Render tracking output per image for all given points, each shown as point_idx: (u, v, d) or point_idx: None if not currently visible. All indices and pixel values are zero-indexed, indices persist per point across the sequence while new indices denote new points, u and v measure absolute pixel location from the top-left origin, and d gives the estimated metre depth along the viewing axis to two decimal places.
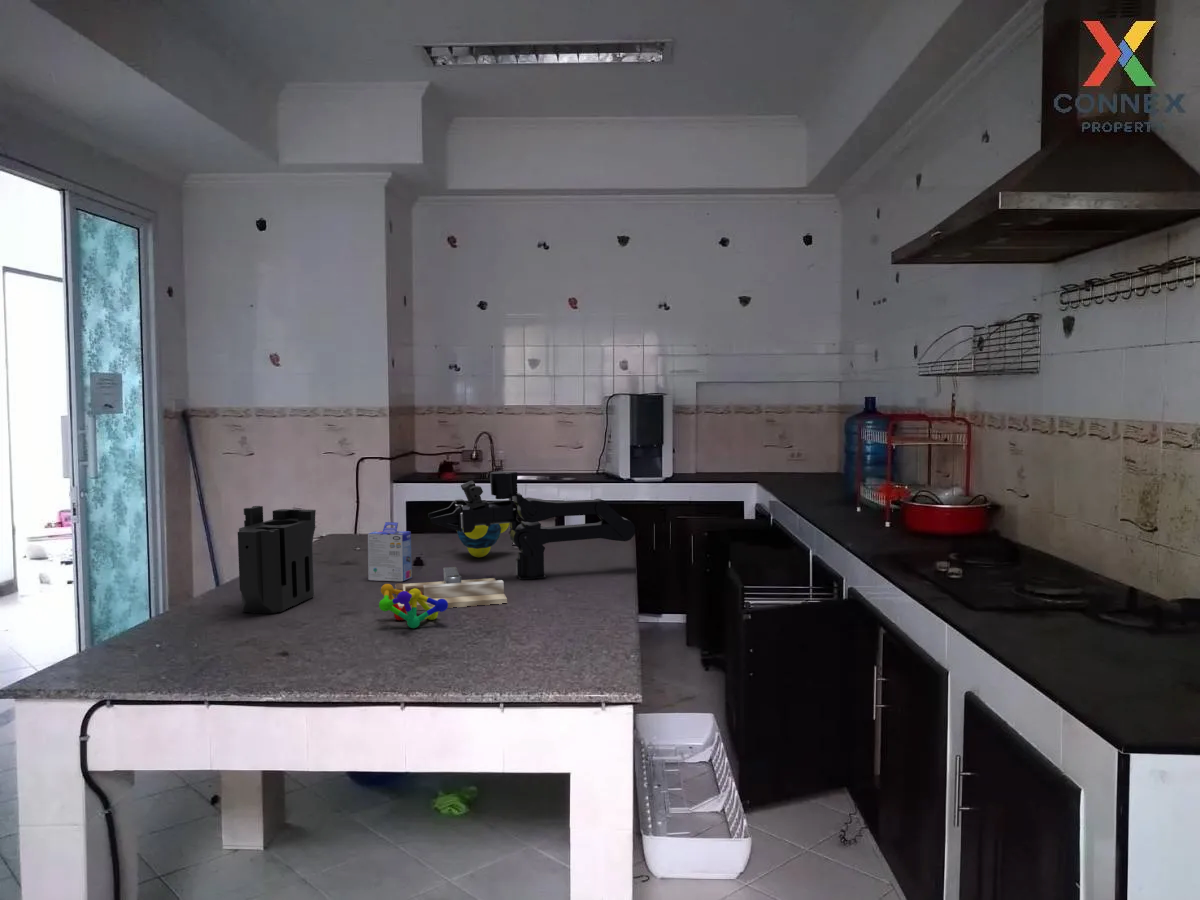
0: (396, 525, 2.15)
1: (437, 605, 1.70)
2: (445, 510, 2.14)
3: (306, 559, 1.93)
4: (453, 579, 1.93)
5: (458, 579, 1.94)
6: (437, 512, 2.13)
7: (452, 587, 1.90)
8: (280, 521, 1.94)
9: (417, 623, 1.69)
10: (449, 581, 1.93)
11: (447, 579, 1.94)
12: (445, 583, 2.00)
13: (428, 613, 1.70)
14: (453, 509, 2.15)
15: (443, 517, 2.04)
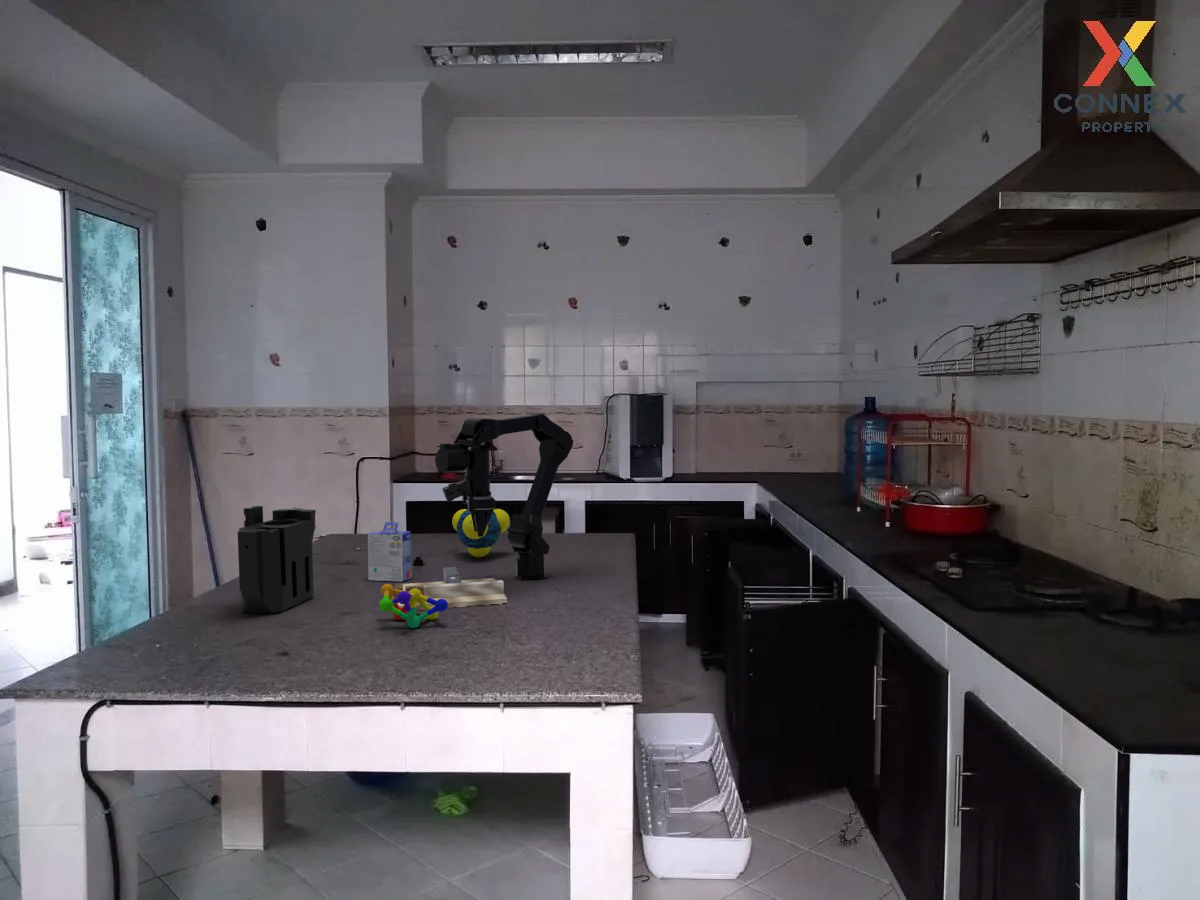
0: (396, 525, 2.15)
1: (437, 605, 1.70)
2: (472, 513, 2.08)
3: (306, 559, 1.93)
4: (453, 579, 1.93)
5: (458, 579, 1.94)
6: (474, 522, 2.08)
7: (452, 587, 1.90)
8: (280, 521, 1.94)
9: (417, 623, 1.69)
10: (449, 581, 1.93)
11: (447, 579, 1.94)
12: (445, 583, 2.00)
13: (428, 613, 1.70)
14: None
15: (478, 524, 1.99)
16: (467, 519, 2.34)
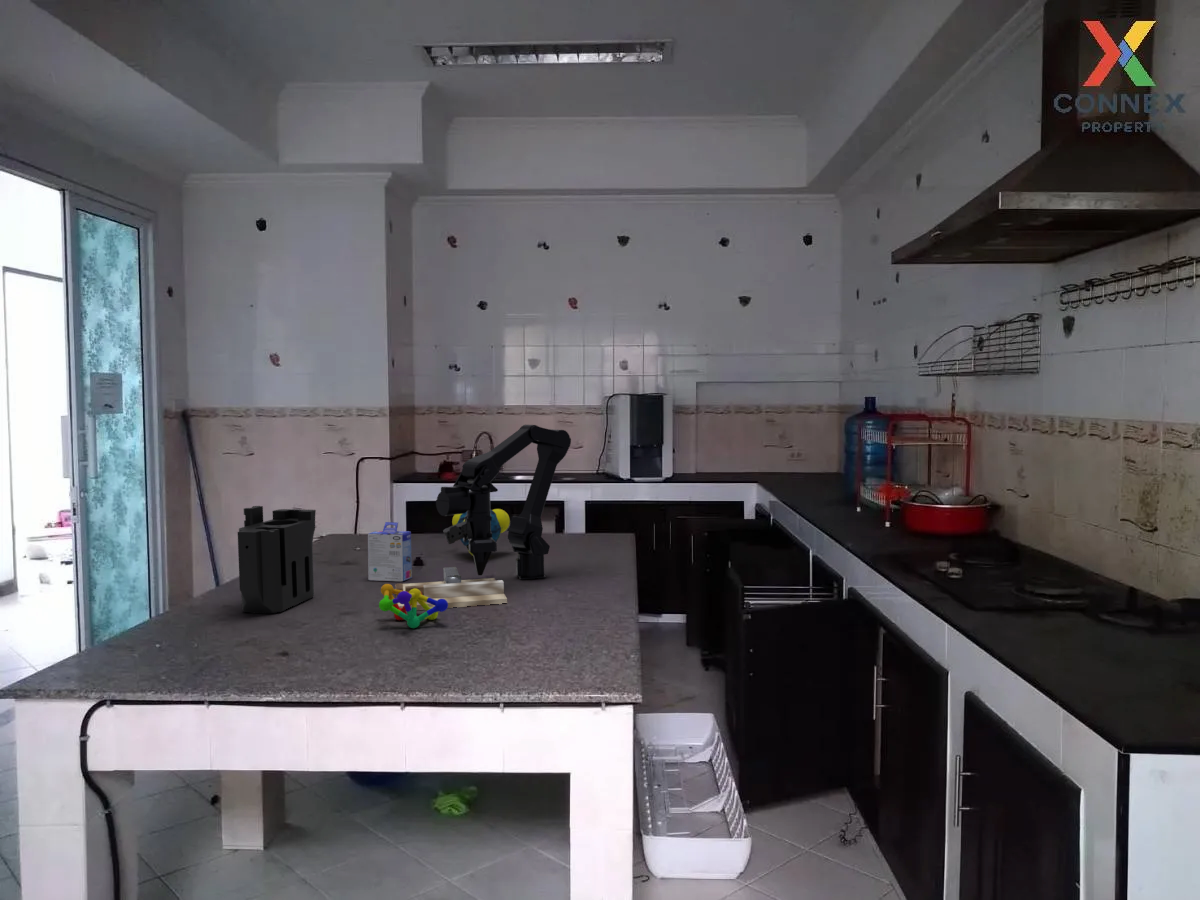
0: (396, 525, 2.15)
1: (437, 605, 1.70)
2: None
3: (306, 559, 1.93)
4: (453, 579, 1.93)
5: (458, 579, 1.94)
6: None
7: (452, 587, 1.90)
8: (280, 521, 1.94)
9: (417, 623, 1.69)
10: (449, 581, 1.93)
11: (447, 579, 1.94)
12: (445, 583, 2.00)
13: (428, 613, 1.70)
14: None
15: (477, 564, 2.03)
16: None
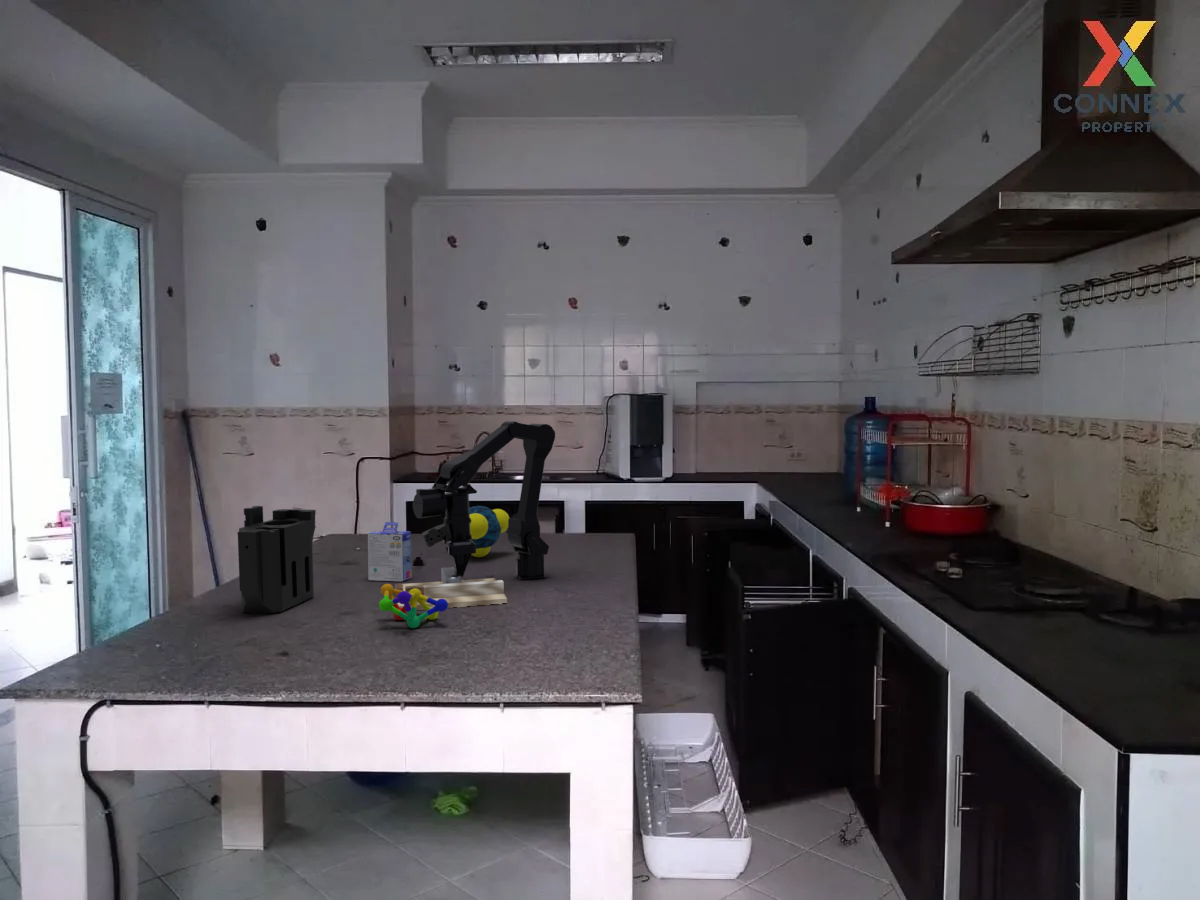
0: (396, 525, 2.15)
1: (437, 605, 1.70)
2: None
3: (306, 559, 1.93)
4: (453, 579, 1.93)
5: (458, 579, 1.94)
6: None
7: (452, 587, 1.90)
8: (280, 521, 1.94)
9: (417, 623, 1.69)
10: (449, 581, 1.93)
11: (447, 579, 1.94)
12: (444, 583, 1.99)
13: (428, 613, 1.70)
14: None
15: (457, 566, 2.02)
16: None
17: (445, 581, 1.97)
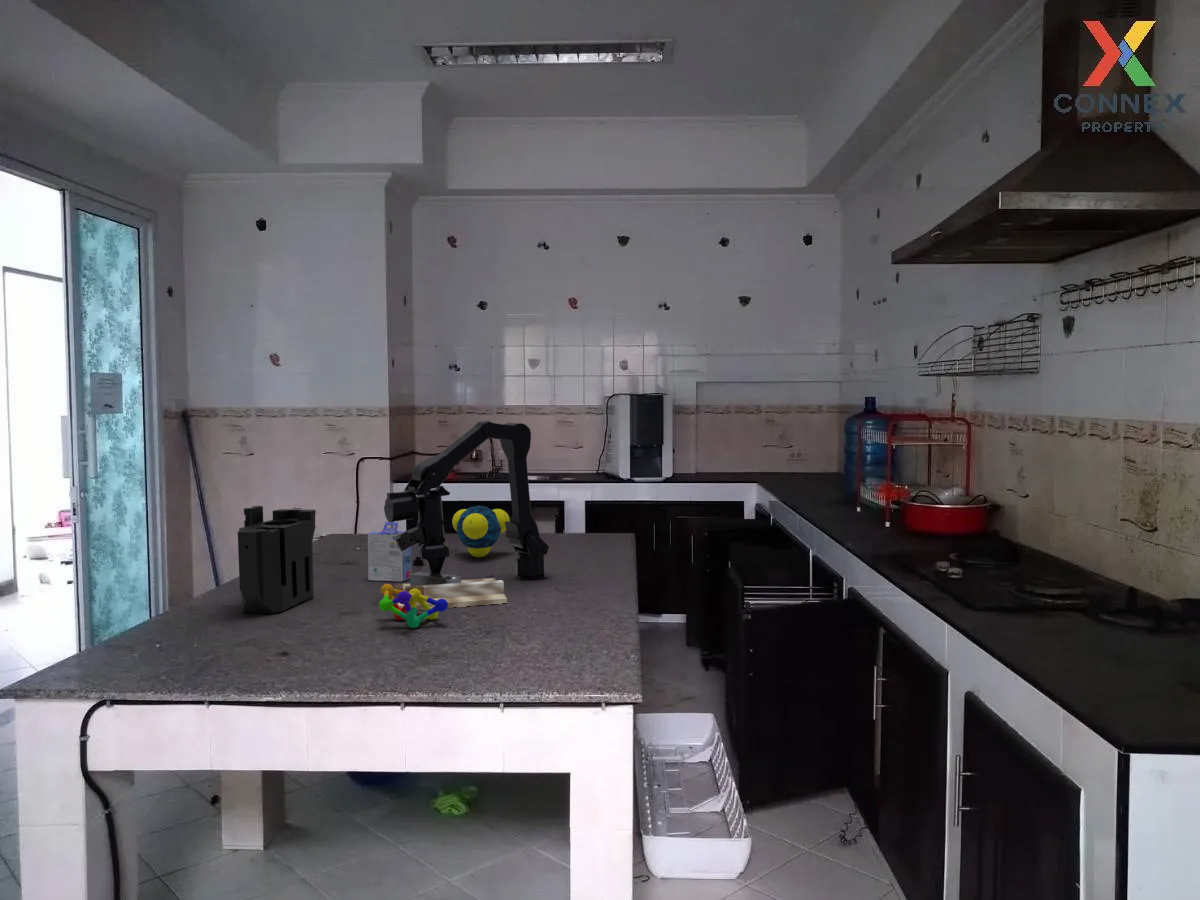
0: (396, 525, 2.15)
1: (437, 605, 1.70)
2: None
3: (306, 559, 1.93)
4: (459, 578, 1.94)
5: None
6: None
7: (452, 587, 1.90)
8: (280, 521, 1.94)
9: (417, 623, 1.69)
10: (456, 581, 1.93)
11: (453, 579, 1.93)
12: None
13: (428, 613, 1.70)
14: None
15: (432, 569, 1.99)
16: (467, 519, 2.34)
17: (439, 583, 1.95)
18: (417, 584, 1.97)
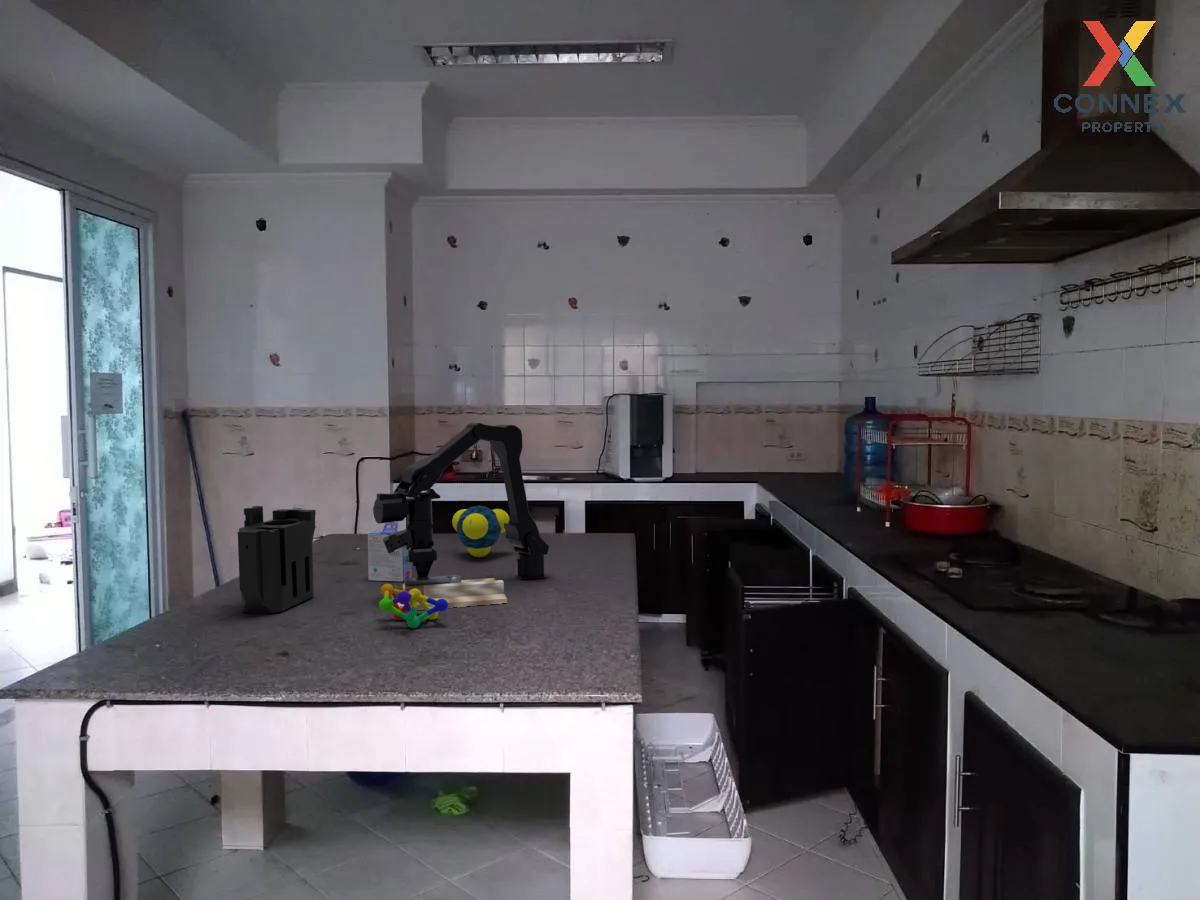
0: (396, 525, 2.15)
1: (437, 605, 1.70)
2: None
3: (306, 559, 1.93)
4: None
5: None
6: None
7: (452, 587, 1.90)
8: (280, 521, 1.94)
9: (417, 623, 1.69)
10: (460, 580, 1.94)
11: (458, 579, 1.94)
12: None
13: (428, 613, 1.70)
14: None
15: (419, 573, 1.96)
16: (467, 519, 2.34)
17: None
18: None
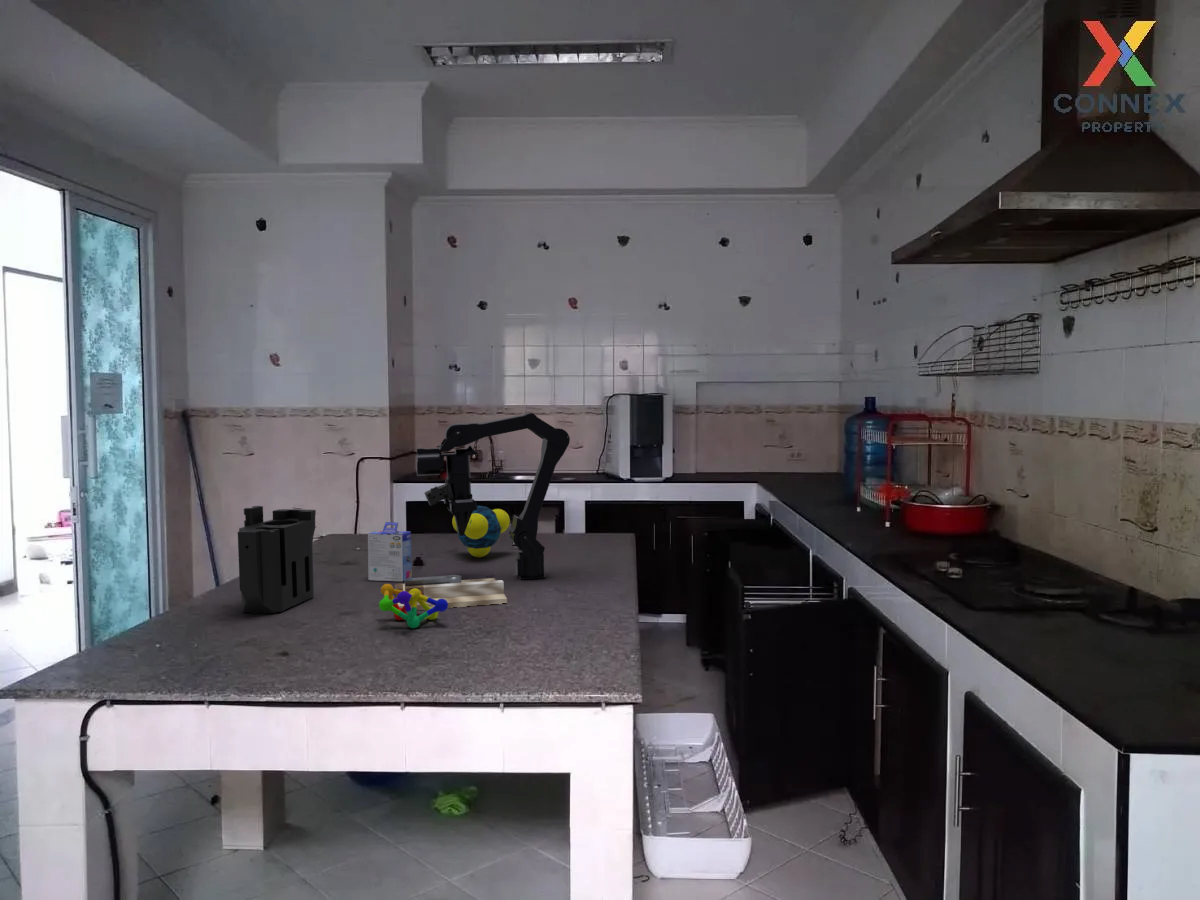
0: (396, 525, 2.15)
1: (437, 605, 1.70)
2: None
3: (306, 559, 1.93)
4: None
5: None
6: None
7: (452, 587, 1.90)
8: (280, 521, 1.94)
9: (417, 623, 1.69)
10: (460, 580, 1.94)
11: (458, 579, 1.94)
12: None
13: (428, 613, 1.70)
14: None
15: (458, 524, 2.09)
16: None
17: None
18: None
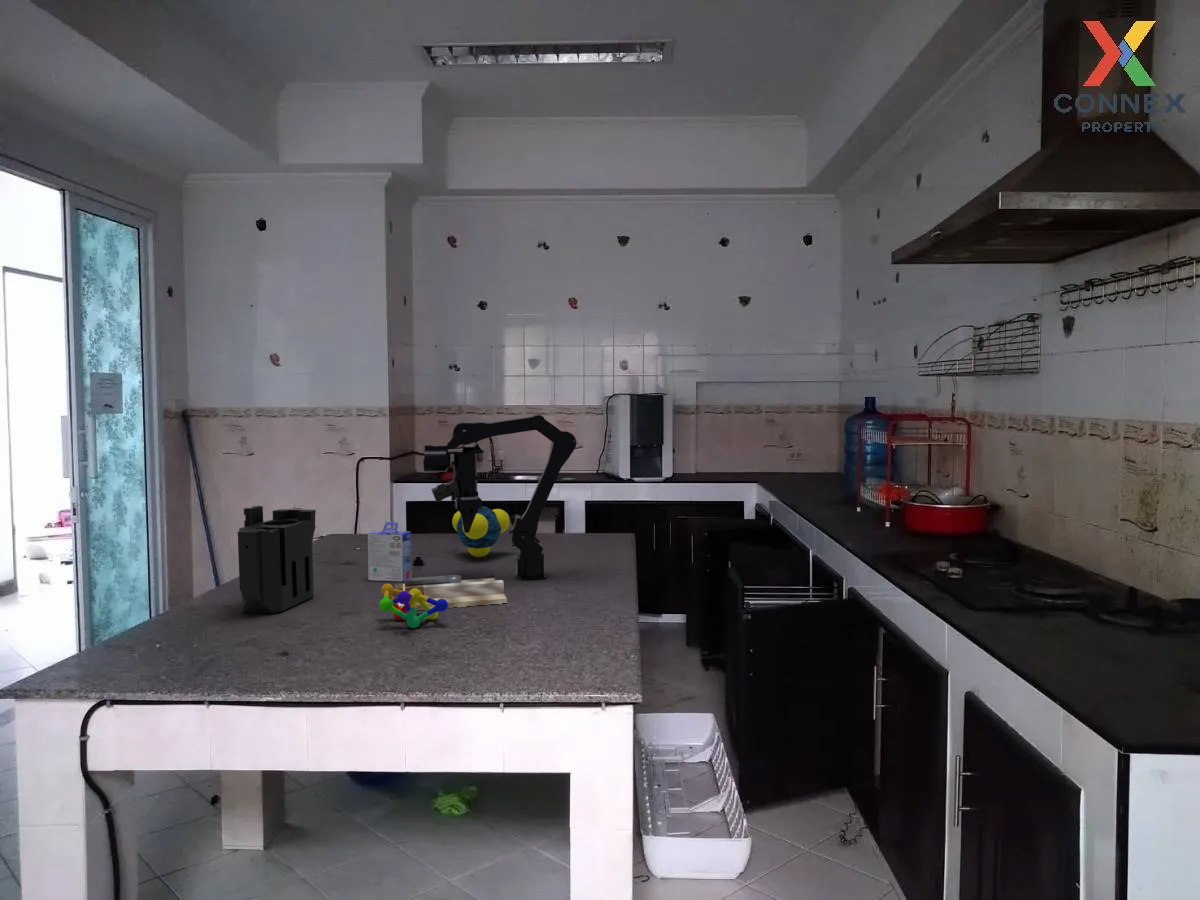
0: (396, 525, 2.15)
1: (437, 605, 1.70)
2: None
3: (306, 559, 1.93)
4: None
5: None
6: None
7: (452, 587, 1.90)
8: (280, 521, 1.94)
9: (417, 623, 1.69)
10: (460, 580, 1.94)
11: (458, 579, 1.94)
12: None
13: (428, 613, 1.70)
14: None
15: (464, 521, 2.11)
16: None
17: None
18: None
